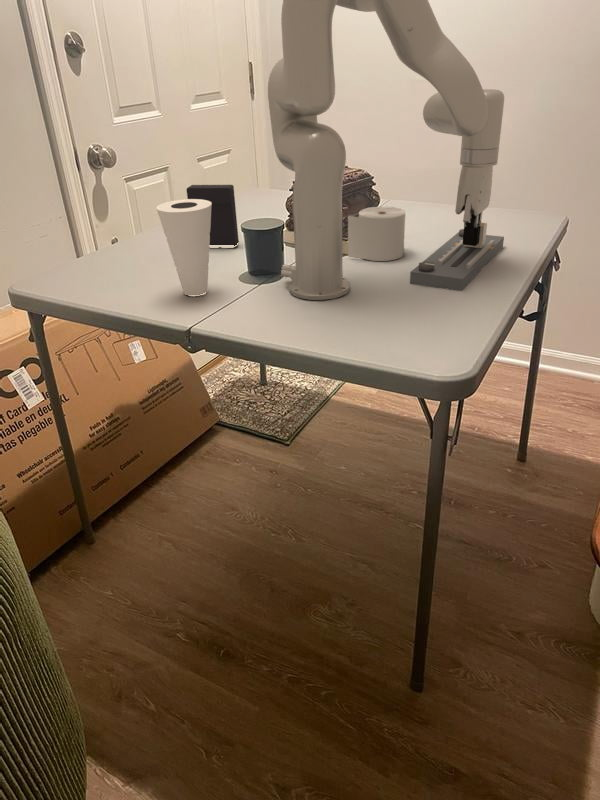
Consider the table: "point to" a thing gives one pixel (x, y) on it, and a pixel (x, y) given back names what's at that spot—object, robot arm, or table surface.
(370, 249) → the toilet tissue
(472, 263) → the console
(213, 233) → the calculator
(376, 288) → the table surface
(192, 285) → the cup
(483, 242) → the fader
